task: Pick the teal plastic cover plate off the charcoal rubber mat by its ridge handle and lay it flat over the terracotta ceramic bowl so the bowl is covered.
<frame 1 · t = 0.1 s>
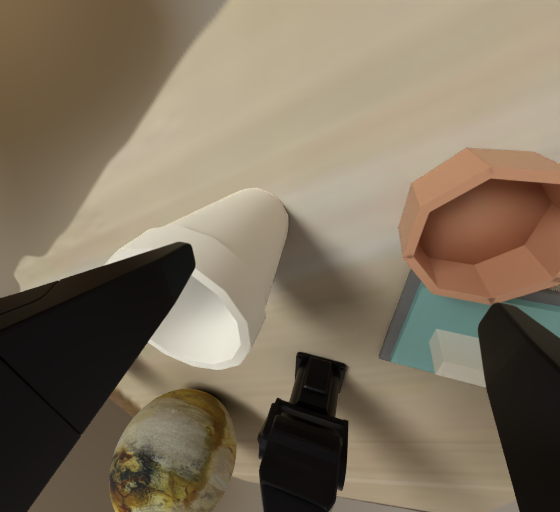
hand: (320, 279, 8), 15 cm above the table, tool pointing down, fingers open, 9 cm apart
bowl: (469, 214, 19), on the table
decorative sphere: (208, 396, 52), on the table
foam cup: (258, 218, 25), on the table
mat: (464, 332, 25), on the table
cover plate: (472, 355, 23), on the mat
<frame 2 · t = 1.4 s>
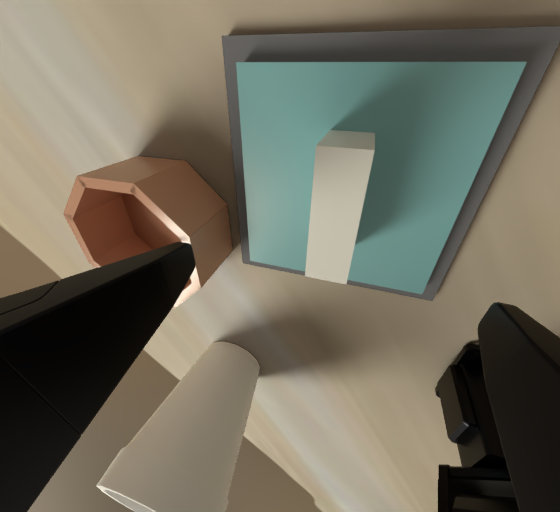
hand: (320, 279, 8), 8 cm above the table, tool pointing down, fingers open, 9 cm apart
bowl: (176, 219, 19), on the table
foam cup: (234, 358, 29), on the table
mat: (344, 186, 14), on the table
cover plate: (339, 204, 12), on the mat
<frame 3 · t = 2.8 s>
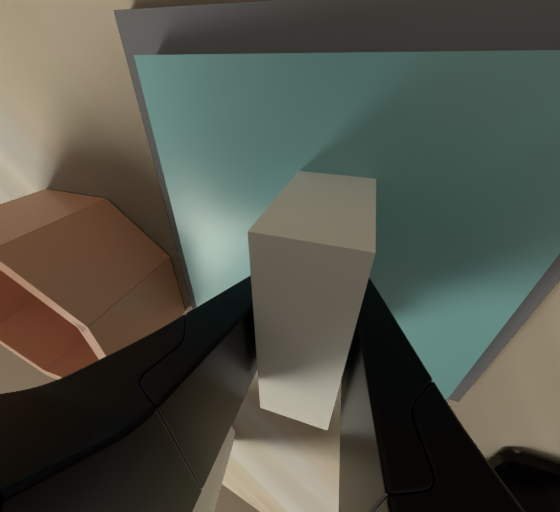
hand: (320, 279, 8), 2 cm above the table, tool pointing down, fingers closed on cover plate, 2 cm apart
bowl: (110, 269, 15), on the table
foam cup: (205, 418, 24), on the table
mat: (329, 245, 9), on the table
cover plate: (316, 293, 7), on the mat, touching gripper
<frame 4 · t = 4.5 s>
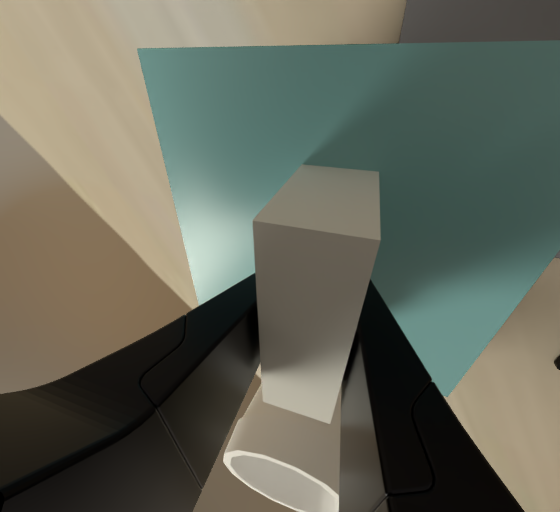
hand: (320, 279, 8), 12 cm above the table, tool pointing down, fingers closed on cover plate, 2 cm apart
foam cup: (318, 339, 29), on the table
mat: (503, 141, 14), on the table
cover plate: (318, 286, 7), point 13 cm above the table, touching gripper
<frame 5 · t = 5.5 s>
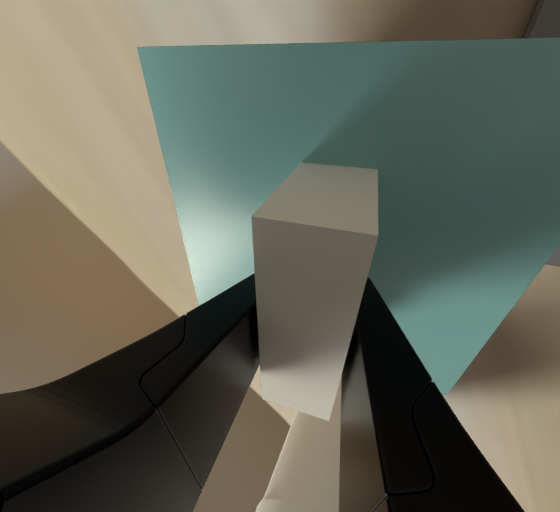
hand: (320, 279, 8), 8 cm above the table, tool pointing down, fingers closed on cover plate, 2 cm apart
foam cup: (348, 371, 23), on the table
cover plate: (317, 284, 7), point 9 cm above the table, touching gripper
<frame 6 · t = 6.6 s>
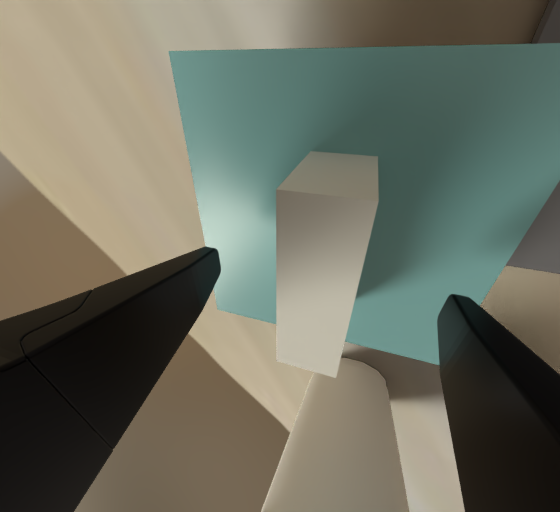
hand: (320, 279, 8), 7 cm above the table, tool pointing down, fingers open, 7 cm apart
foam cup: (348, 378, 23), on the table
cover plate: (325, 259, 8), on the bowl, point 7 cm above the table
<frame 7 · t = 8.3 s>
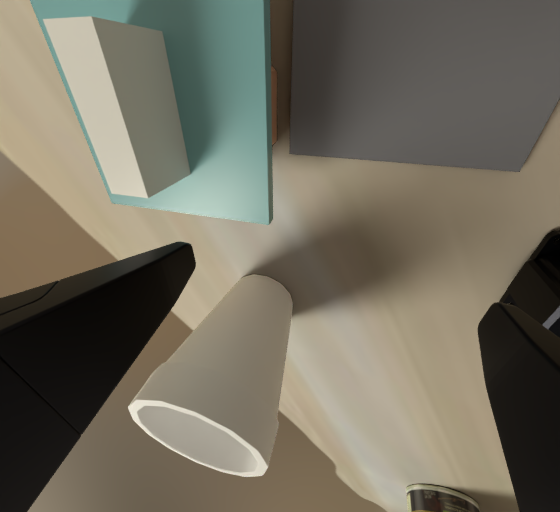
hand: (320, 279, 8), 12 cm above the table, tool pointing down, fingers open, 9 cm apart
bowl: (211, 106, 17), on the table
foam cup: (263, 297, 26), on the table
coffee can: (439, 496, 42), on the table
mat: (429, 17, 12), on the table
cover plate: (141, 115, 12), on the bowl, point 7 cm above the table
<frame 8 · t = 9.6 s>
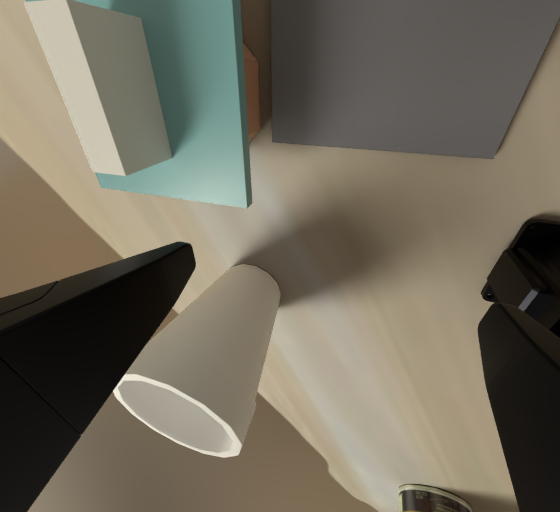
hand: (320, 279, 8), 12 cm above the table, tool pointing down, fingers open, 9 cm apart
bowl: (198, 96, 18), on the table
foam cup: (252, 287, 27), on the table
coffee can: (432, 497, 41), on the table
mat: (400, 6, 12), on the table
cover plate: (122, 98, 12), on the bowl, point 7 cm above the table
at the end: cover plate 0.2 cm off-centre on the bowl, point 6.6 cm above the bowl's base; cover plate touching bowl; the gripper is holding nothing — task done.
